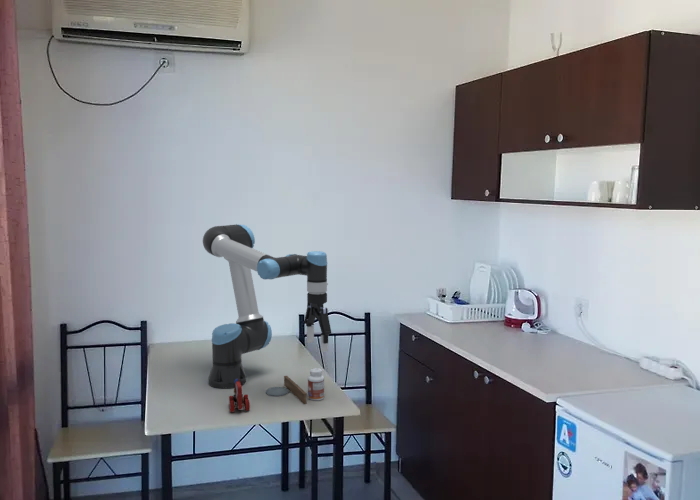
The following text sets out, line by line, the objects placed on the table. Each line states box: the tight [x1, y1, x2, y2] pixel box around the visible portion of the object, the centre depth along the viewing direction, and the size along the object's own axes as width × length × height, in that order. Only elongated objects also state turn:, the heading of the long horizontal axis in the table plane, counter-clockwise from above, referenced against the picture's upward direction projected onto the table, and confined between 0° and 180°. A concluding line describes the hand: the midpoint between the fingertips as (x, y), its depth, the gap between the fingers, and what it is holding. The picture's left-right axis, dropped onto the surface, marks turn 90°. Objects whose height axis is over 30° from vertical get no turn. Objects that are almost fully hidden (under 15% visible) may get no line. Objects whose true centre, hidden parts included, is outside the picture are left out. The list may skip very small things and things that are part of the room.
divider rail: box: [283, 375, 308, 405], centre depth 238 cm, size 1×22×4 cm, turn 26°
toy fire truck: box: [228, 379, 251, 413], centre depth 223 cm, size 7×12×10 cm, turn 14°
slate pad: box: [265, 386, 290, 397], centre depth 240 cm, size 9×9×1 cm
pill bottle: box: [307, 367, 325, 401], centre depth 234 cm, size 6×6×11 cm
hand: (317, 347), depth 235 cm, fingers open, 13 cm apart
